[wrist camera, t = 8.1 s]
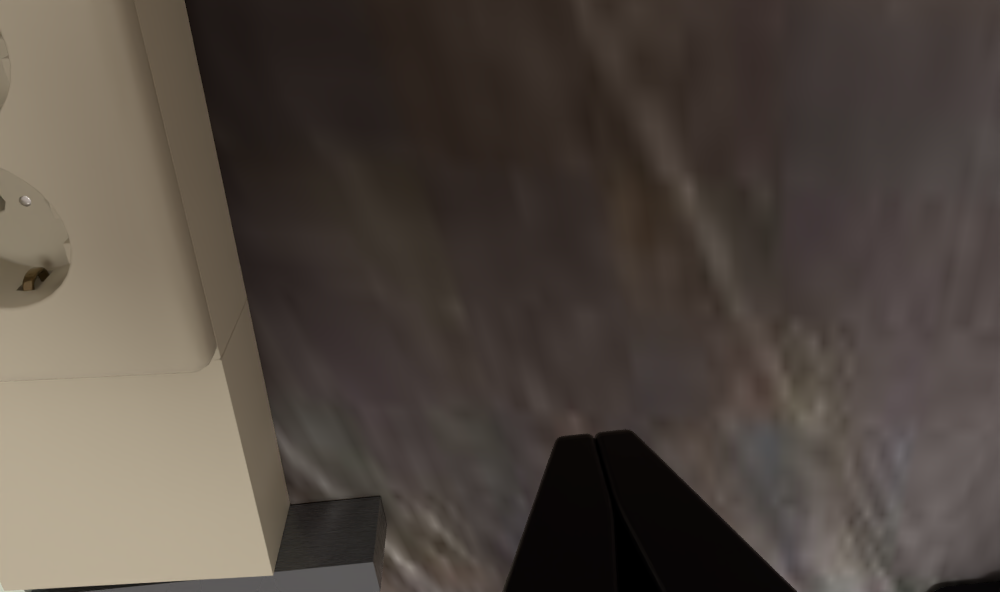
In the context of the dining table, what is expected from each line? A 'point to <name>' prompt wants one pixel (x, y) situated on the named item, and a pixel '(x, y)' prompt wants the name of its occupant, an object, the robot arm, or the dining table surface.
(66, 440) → the electrical outlet
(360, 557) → the bracket rack
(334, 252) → the dining table surface
